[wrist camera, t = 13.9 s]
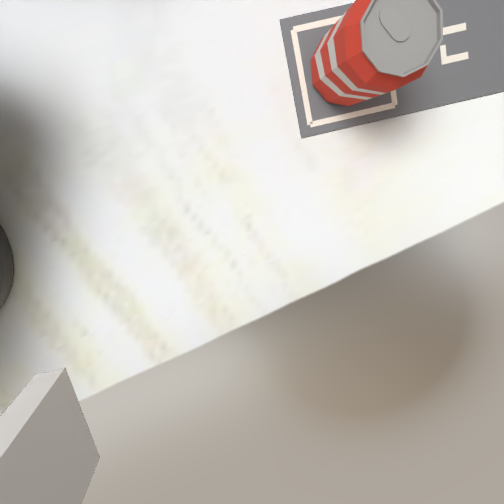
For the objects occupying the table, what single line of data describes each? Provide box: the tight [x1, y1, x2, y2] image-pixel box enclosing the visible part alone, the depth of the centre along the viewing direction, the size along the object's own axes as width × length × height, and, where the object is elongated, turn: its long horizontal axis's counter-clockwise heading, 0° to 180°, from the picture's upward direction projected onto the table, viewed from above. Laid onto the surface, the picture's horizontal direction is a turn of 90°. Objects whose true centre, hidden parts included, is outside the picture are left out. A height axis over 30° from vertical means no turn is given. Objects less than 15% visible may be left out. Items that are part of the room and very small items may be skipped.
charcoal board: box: [280, 0, 504, 138], centre depth 36 cm, size 20×10×1 cm, turn 103°
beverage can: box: [310, 0, 443, 106], centre depth 30 cm, size 6×6×12 cm
